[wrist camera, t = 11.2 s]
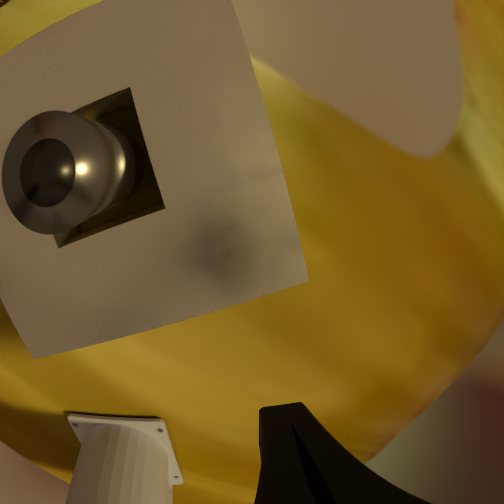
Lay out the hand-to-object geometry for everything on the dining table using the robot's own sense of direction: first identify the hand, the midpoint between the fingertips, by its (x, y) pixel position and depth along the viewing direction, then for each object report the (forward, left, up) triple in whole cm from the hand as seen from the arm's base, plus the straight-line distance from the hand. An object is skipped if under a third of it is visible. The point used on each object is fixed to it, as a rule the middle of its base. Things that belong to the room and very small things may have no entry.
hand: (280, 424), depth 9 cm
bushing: (+8, +7, -9) cm, 14 cm away
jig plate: (+8, +7, -9) cm, 14 cm away
